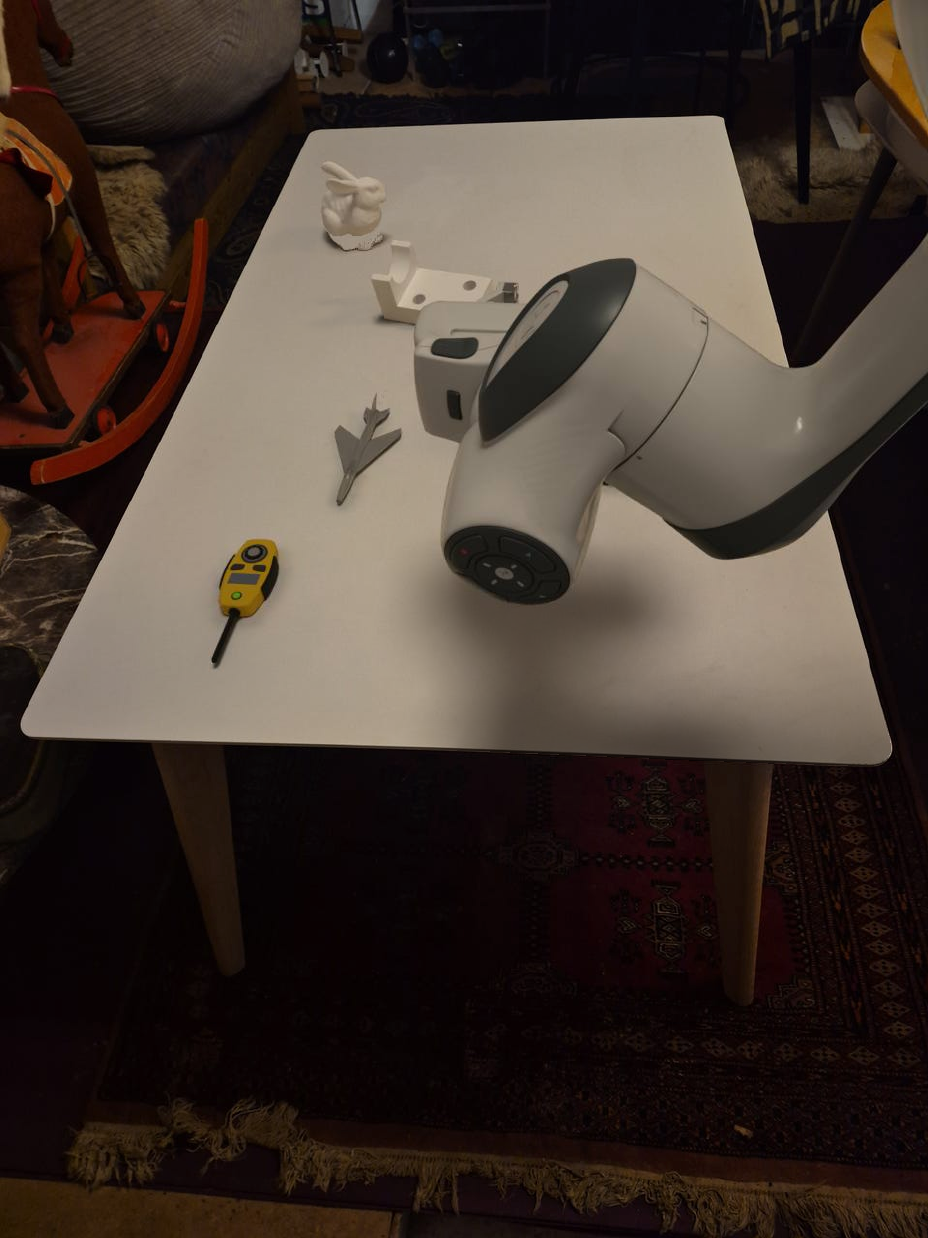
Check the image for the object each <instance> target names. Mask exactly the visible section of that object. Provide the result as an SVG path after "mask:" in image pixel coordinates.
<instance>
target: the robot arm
mask: <svg viewBox="0 0 928 1238" xmlns="http://www.w3.org/2000/svg"><path fill="white" fill-rule="evenodd" d="M889 5H890V10H891V15H892V16H891V17H892V20H893V25H894V29H895V33H896V35H897V39H898V42H899V46H900V50H901V53H902V56H903V60H904V62H905V65H906V69H907V71H908V74H909V77H910V79H911V82H912V84H913V85H912V86H913V87H914V90H915V93H916V95H917V98H918V101H919V104H920V106H921V108H922V111H923V114H924V116H925V119H926V122H927V123H928V0H889ZM518 291H519V283H518V282H510V281H498V283H497V285H496V288H495V290H494V292H492V293H490V294H488V295H486V296H484V297H482V298H480V299H479V300H477V301H476V302H460V301H435V302H433V303H430V304H428V305H426V306H424V307H423V308H422V309H421V311H420V313H419V315H418V318H417V321H416V324H414V330H413V345H414V351H413V381H414V388H415V396H416V402H417V406H418V411H419V415H420V419H421V423H422V426H423V429H424V432H426V433H427V434H429V435H431V436H434V437H437V438H440V439H444V440H448V441H450V442H454V443H457V444H459V445H458V448H457V450H456V453H455V457H454V460H453V463H452V466H451V471H450V474H449V477H448V481H447V486H446V490H445V495H444V501H443V506H442V513H441V522H440V548H441V553H442V556H443V559H444V561H445V563H446V564H447V566H448V568H449V569H450V570H451V572H452V573H453V574H454V575H455V576H457V577H458V578H459V579H460V580H461V581H462V582H463V583H465V584H467V585H469V586H470V587H472V588H473V589H475V590H477V591H479V592H480V593H483V594H485V595H486V596H489V597H491V598H493V599H495V600H497V601H500V602H502V603H506V604H512V605H519V606H542V605H546V604H551V603H554V602H556V601H558V600H560V599H562V598H563V597H565V596H566V595H567V594H569V592H570V591H571V589H572V588H573V586H574V584H575V582H576V581H577V578H578V576H579V574H580V572H581V568H582V566H583V564H584V561H585V558H586V555H587V552H588V549H589V546H590V542H591V539H592V535H593V532H594V529H595V526H596V525H595V524H596V520H597V515H598V512H599V507H600V502H601V497H602V491H603V485H604V484H603V481H604V482H606V483H608V484H609V485H608V486H611V487H612V488H614V489H616V490H617V491H619V492H621V493H622V494H623V495H625V496H627V497H628V498H630V499H631V500H633V501H635V502H636V503H637V504H640V505H641V506H643V507H644V508H646V509H647V510H649V511H651V512H652V513H654V514H655V515H657V516H659V517H660V518H661V519H662V520H663V521H664V523H666V524H667V525H668V526H669V527H671V529H673V530H674V531H676V532H677V533H678V534H679V535H681V536H682V537H683V538H685V539H686V540H687V541H689V542H690V543H691V544H692V545H694V546H695V547H696V548H697V549H699V550H700V551H702V552H703V553H704V554H706V555H707V556H708V557H710V558H713V559H715V560H722V561H731V560H740V559H748V558H752V557H757V556H762V555H766V554H769V553H772V552H775V551H777V550H780V549H783V548H785V547H788V546H789V545H791V544H794V543H795V542H796V541H798V540H799V539H801V538H803V536H804V535H806V534H807V533H808V532H809V531H810V530H811V529H812V528H813V527H814V526H815V525H816V524H817V523H818V522H819V520H821V518H822V517H823V516H824V515H825V514H826V513H827V512H828V510H829V509H830V508H831V506H832V505H833V504H834V502H836V500H837V499H838V497H839V496H840V495H841V494H842V492H843V491H844V490H845V489H846V488H847V486H848V485H849V484H850V482H851V481H852V479H853V478H854V477H855V476H856V474H857V473H858V472H859V471H860V469H861V468H862V467H863V466H864V464H865V463H867V462H868V460H870V459H871V457H872V456H874V454H875V453H876V452H877V451H878V450H879V449H881V448H882V446H883V445H884V444H886V442H887V441H888V440H889V439H891V438H892V437H893V436H894V435H895V434H896V433H897V432H898V431H899V430H900V429H901V428H903V426H904V425H905V424H906V423H907V422H908V421H909V420H911V418H913V417H914V416H915V415H916V414H917V413H918V412H919V411H921V409H922V408H924V406H925V405H926V404H927V403H928V232H927V233H926V235H925V236H924V237H923V239H922V241H921V242H920V244H918V246H917V248H915V250H914V251H913V253H912V254H911V255H910V256H909V257H908V258H907V259H906V260H905V261H904V263H903V264H902V265H901V266H900V268H899V269H898V270H896V272H895V273H894V274H893V275H892V277H890V279H889V280H888V281H887V282H886V284H884V286H883V287H882V288H881V290H880V291H878V293H877V294H876V295H875V296H874V297H873V298H872V299H871V301H870V302H869V303H868V304H867V305H866V307H865V308H864V309H863V310H862V311H861V312H860V314H859V315H858V316H857V317H856V318H855V319H854V320H853V321H852V322H851V324H850V325H848V327H847V328H846V329H845V331H844V332H843V333H842V334H841V335H840V336H839V338H838V339H837V340H835V342H834V343H833V344H832V346H831V347H830V348H829V349H828V350H827V352H826V353H825V354H823V356H822V357H821V358H820V359H819V360H818V361H817V362H815V363H813V364H811V365H808V366H803V367H790V366H789V367H787V366H783V365H779V364H777V363H775V362H773V361H771V360H770V359H769V358H767V357H766V356H765V355H763V354H762V353H760V352H759V351H758V350H756V349H755V348H753V347H752V346H751V345H749V344H748V343H747V342H745V341H744V340H742V339H741V338H740V337H738V336H737V335H736V334H735V333H733V332H731V331H730V330H728V329H727V328H726V327H724V326H723V325H722V324H720V323H719V322H718V321H717V320H715V319H713V318H712V317H711V316H709V315H708V313H707V312H706V310H704V309H703V308H702V307H701V306H699V305H698V304H696V303H695V302H693V301H692V300H691V299H689V297H687V296H685V295H683V293H681V292H680V291H678V290H677V289H676V288H674V287H673V286H671V285H670V284H668V282H666V281H664V280H662V279H661V278H660V277H658V276H657V275H655V274H654V273H653V272H651V271H650V270H648V269H647V268H645V267H643V266H642V265H641V264H638V263H637V262H636V261H635V260H634V259H633V258H631V257H616V258H607V259H602V260H598V261H594V262H590V263H587V264H585V265H582V266H578V267H575V268H573V269H571V270H568V271H565V272H563V273H560V274H558V275H555V276H554V277H552V278H551V279H550V280H548V281H547V282H546V283H545V284H544V285H542V286H541V288H540V289H539V290H537V292H536V293H535V294H534V295H533V296H532V297H531V299H530V300H529V301H528V302H527V303H525V302H523V303H521V302H519V299H520V294H519V292H518Z"/></svg>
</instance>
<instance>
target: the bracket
mask: <svg viewBox="0 0 928 1238" xmlns="http://www.w3.org/2000/svg"><path fill="white" fill-rule="evenodd" d="M390 247H391V264H390V269H389V271H388V274H380V273H374V272H373V274H372V276H371V278H370V280H371V284H372V286H373V290H374V292H375V295H376V299H377V302H378V304H379V306H380V309H381V312H382V315H383V318H384V320H388V321H395V322H401V323H406V324H413V325H415V324H416V321H417V318H418V315H419V313H420V311H421V309H422V308H423V307H424V306H426V305H428V304H430V303H433V302H435V301H460V302H476V301H477V300H479V299H480V298H482V297H484V296H486V295H488V294H490V293H492V292H494V291H495V287H494V283H493V278H492V277H486V276H479V275H472V274H466V273H460V272H453V271H452V272H451V271H444V270H438V269H430V268H423V267H419V262H418V259H417V256H416V251H415V248H414V245H413V242H412V241H406V240H400V239H393V240H392V242H391V244H390Z"/></svg>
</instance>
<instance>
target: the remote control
mask: <svg viewBox="0 0 928 1238" xmlns="http://www.w3.org/2000/svg"><path fill="white" fill-rule="evenodd" d="M279 570H280V564H279V550H278V548H277V545H276V542H275V541H274V540H272V539H267V538H253V539H252V538H251V539H247V540H246V541H245V542H244V543H243V544H242V546H240V548H239V549H238V550H237V552H236V553H233V555H232V556H231V558H230V559H229V561H228V562H227V564H226V566H225V567H224V569H223V572H222V574H221V576H220V580H219V585H218V589H219V595H218V596H219V597H218V604H219V607H220V608H221V611H222V613H223V614H224V615H226V616H228V619H227V621H226V623H225V626H224V628H223V630H222V632H221V635H220V637H219V639H218V641H217V645H216V647H215V649H214V651H213V654H212V656H211V657H210V658H211V663H212V664H216V663H218V661H219V658H220V656H221V654H222V652H223V649H224V647H225V645H226V642H227V639H228V637H229V635H230V633H231V630H232V629H233V626H234V624H235V620H236V619H238V618H239V617H250V616H252V615H254V614H255V613H256V611H257V610H258V609H259V608H260V606H261V605H262V604H263V602H264V601H266V600H267V598H269V595H270V594H271V593H272V590H273V588H274V586H275V584H276V581H277V579H278V575H279Z"/></svg>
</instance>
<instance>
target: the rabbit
mask: <svg viewBox="0 0 928 1238" xmlns="http://www.w3.org/2000/svg"><path fill="white" fill-rule="evenodd" d="M320 168H321V170H322V172H323V173H326V174H328V175H330V176H333V177H335V178H327V179H326V180H325V186H326V188H327V190H326V191H325V193H324V194H323V197H322V200H321V209H320V213H321V217H322V223H323V224H322V225H323V226H324V229H325V228H326V230H327V231H328V232H329V233H330V234H332V235H333V236H343V235H346V234H351V235H352V236H362V235H365V234H368V233H371V232H372V231H374V230H375V229H376V228H377V227H378V226H379V225H380V223H381V221H382V209H381V207H380V204H384V203H385V202H386V201H387V198H388V197H387V189H386V187H385V186H384V184H383V183H382V182H381V181H379V180H378V179H376V178H374V177H372V176H361V177H359V178H358V177H355V176H354V175H352V173H351V172H349V171H348V170H346V169H345V168H343V167H342V166H340V164H337V163H335V162H334V161H330V160H329V161H328V160H327V161H325V162H324V163H322V164H321V167H320ZM379 233H380V234H379V235H377V238H378V237H379V236H382V238H383V235H382V233H381V232H379ZM382 238H381V237H380V240H377V241H378V243H381V242H382V241H381V239H382ZM383 239H384V238H383ZM383 239H382V240H383ZM370 240H371V239H370ZM375 241H376V238H375ZM375 241H373V244H372V243H371V246H372V247H371V246H369V245H367V244H366V245H367V247H365V243H364V242H363V243H364V246H363V245H362V248H361V244H360V243H359V246H360V247H359V246H357V247H358V249H357V248H356V249H355V250H359V251H368V250H371V249H373V248H374V247H373V246H374V245H375V244H378V243H377V242H375ZM374 242H375V243H374ZM368 244H369V242H368ZM349 251H353V250H352V249H351V250H349ZM349 251H348V252H349Z"/></svg>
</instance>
